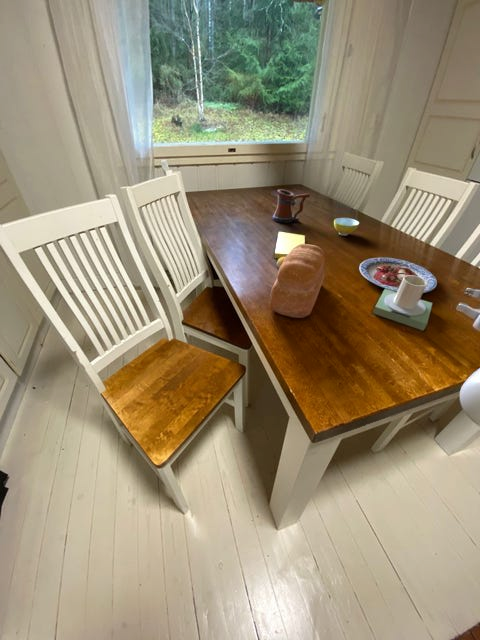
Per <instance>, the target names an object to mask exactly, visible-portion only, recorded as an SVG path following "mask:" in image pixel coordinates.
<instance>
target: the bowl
mask: <svg viewBox="0 0 480 640" xmlns="http://www.w3.org/2000/svg"><path fill="white" fill-rule="evenodd" d="M359 224H360V221H358V220H356V219H355V218H349V217H337V218H335V219H333V227H334V229H335V230H336V231H337V232H338V235H340V236H344V237H345V236H349V234H351V233H353V232H354V231H356V230H357V228H358V227H359Z"/></svg>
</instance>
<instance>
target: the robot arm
mask: <svg viewBox="0 0 480 640" xmlns="http://www.w3.org/2000/svg"><path fill="white" fill-rule="evenodd" d="M463 296H466V297H468V298H471V297H473V298H478V300H480V289H474V288H471V287H467V288H466V289H465V290H464V292H463ZM455 310H456V311H458V312H461V313H463V314H464V315H465V316H467V317H468V318H470V319H472V320H474V322H473V324H472V328H474V330H476V331H478V332H480V309H478V308H473V307H471V306H469V304H468V303H465V302H462V301H460V302H458V304H457V306H456V307H455ZM459 403H460V406H461V408H462V411H463V412H464V414H465V415H466V416H467V418H469V420H470V421H471V422H473V423H474V424H475V425H476V426H477V427H480V367H479V368H478V369H476V370H474V372H473V373H471V374H470V376H469V377H468V378H467V379H466V380H465V381H464V382H463V384H462V386H461V387H460V390H459Z"/></svg>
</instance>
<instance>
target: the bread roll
mask: <svg viewBox="0 0 480 640" xmlns="http://www.w3.org/2000/svg"><path fill="white" fill-rule="evenodd" d="M284 259H285V257H281V258H278V259H277V262H276V267H277V268H278V269H279V268H280V267H281V265H282V263H283V261H284Z"/></svg>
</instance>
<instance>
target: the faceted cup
mask: <svg viewBox="0 0 480 640" xmlns="http://www.w3.org/2000/svg"><path fill="white" fill-rule="evenodd" d="M427 284H428V283H427V281H426V280H425V279H423V278H421V277H418V276H414V275H406V276H404V278H403V280H402V282H401V284H400V287H399V289H398V291H397V294H396V296H395V298H394V303H395V304H396V305H397V306H399V307H401V308H404V309H414V308H415V307H416V306H417V304H418V302H419V300H420V299H421V298H422V296H423V294H424V293H423V292H424V290H425V288H426V286H427Z"/></svg>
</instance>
